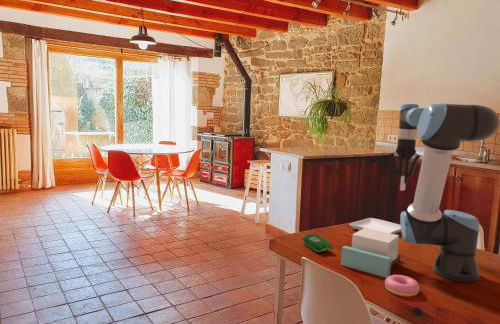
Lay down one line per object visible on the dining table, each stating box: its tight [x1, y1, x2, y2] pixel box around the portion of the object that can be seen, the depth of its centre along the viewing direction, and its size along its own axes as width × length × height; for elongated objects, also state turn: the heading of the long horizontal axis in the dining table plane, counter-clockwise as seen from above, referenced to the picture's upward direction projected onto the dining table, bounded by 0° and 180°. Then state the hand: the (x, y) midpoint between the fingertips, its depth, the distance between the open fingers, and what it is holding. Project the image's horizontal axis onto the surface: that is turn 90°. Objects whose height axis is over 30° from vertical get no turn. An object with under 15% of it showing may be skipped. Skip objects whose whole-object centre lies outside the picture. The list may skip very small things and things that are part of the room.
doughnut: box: [384, 274, 421, 298], centre depth 130 cm, size 11×11×4 cm
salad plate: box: [349, 217, 402, 235], centre depth 197 cm, size 21×21×3 cm
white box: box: [351, 228, 400, 262], centre depth 152 cm, size 14×12×9 cm
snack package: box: [301, 233, 334, 253], centre depth 167 cm, size 7×16×5 cm, turn 21°
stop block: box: [340, 245, 392, 279], centre depth 145 cm, size 18×2×7 cm, turn 52°
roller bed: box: [390, 254, 401, 269], centre depth 154 cm, size 14×17×2 cm
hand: (402, 190), depth 178 cm, fingers closed
